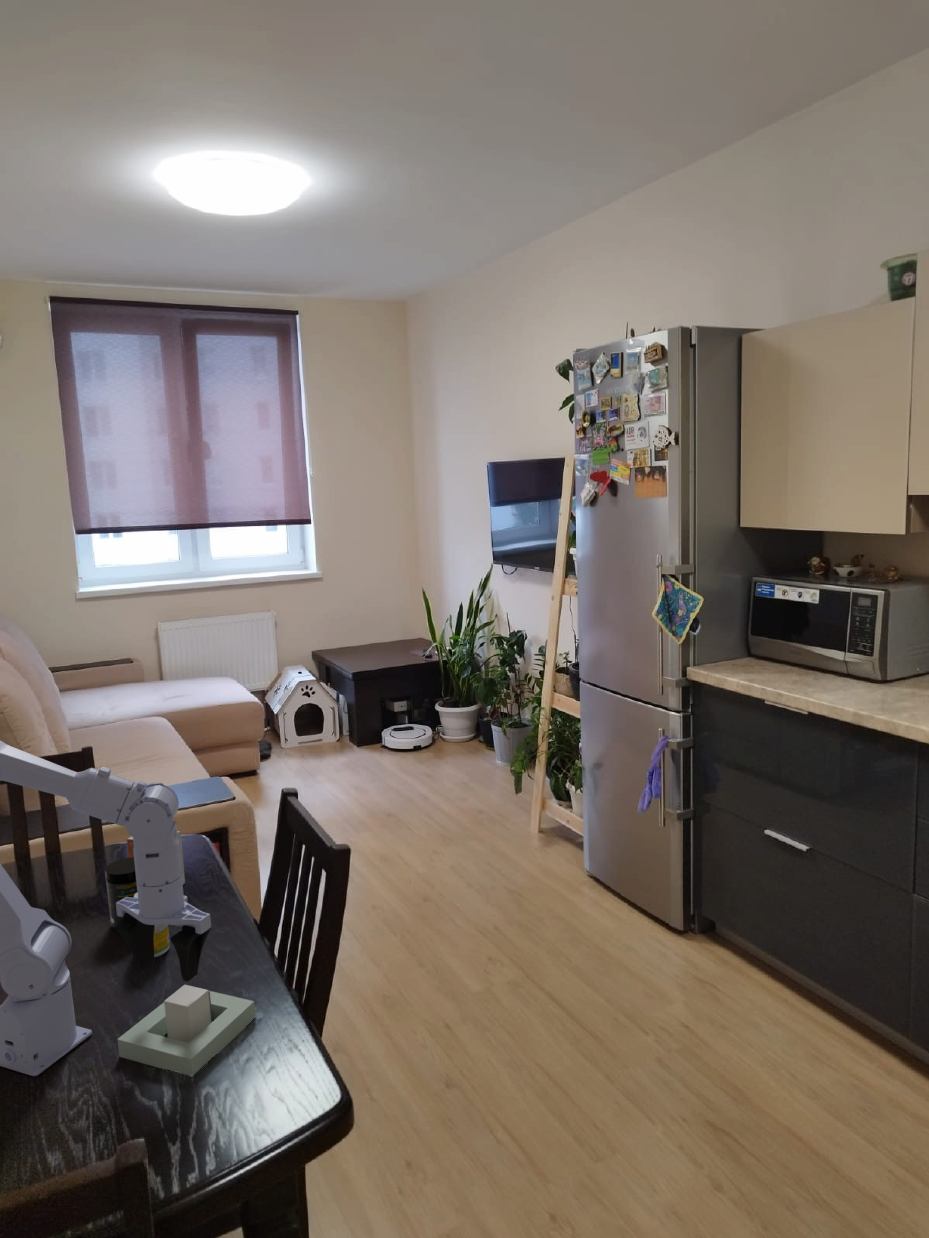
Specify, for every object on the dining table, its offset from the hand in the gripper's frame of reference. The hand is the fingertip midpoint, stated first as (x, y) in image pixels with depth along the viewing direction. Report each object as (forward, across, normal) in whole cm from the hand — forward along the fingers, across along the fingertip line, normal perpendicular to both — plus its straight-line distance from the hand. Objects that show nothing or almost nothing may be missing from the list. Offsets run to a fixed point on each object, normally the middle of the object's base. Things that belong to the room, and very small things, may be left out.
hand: (168, 971), depth 118 cm
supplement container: (+9, +28, -21) cm, 36 cm away
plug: (+8, -3, 0) cm, 9 cm away
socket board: (+8, -3, +1) cm, 9 cm away
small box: (+9, +33, -33) cm, 48 cm away
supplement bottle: (+9, +18, -15) cm, 25 cm away
